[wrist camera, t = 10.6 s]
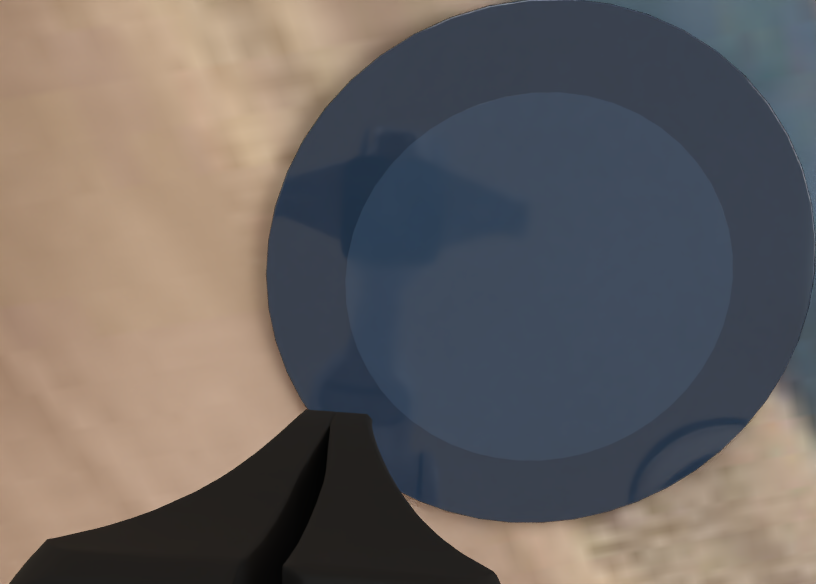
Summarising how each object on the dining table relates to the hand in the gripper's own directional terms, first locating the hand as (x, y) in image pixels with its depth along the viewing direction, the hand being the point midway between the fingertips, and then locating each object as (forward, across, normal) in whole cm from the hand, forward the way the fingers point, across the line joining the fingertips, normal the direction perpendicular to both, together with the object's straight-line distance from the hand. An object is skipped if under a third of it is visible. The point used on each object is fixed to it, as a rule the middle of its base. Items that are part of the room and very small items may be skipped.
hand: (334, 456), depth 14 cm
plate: (+9, -5, -1) cm, 11 cm away
